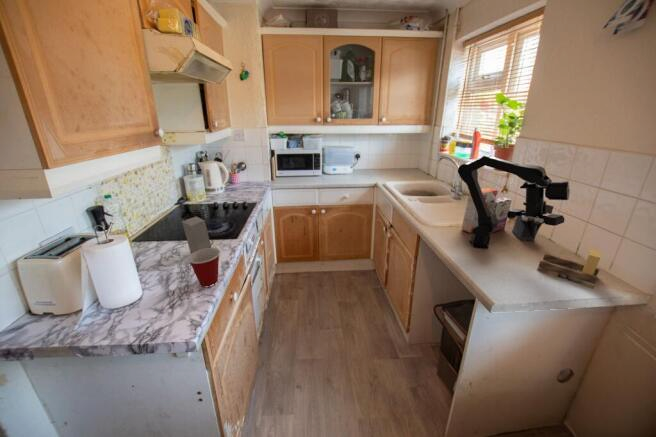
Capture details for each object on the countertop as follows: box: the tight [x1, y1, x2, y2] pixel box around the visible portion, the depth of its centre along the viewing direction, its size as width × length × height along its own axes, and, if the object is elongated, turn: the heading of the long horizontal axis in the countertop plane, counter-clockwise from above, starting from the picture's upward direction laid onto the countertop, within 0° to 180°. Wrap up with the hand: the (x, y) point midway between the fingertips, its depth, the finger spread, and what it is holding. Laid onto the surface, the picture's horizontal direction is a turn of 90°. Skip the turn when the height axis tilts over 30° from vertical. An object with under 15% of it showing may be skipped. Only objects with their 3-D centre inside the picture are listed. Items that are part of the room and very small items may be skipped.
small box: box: [511, 216, 536, 243], centre depth 140 cm, size 11×6×10 cm, turn 168°
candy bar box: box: [489, 196, 513, 234], centre depth 146 cm, size 11×5×16 cm, turn 115°
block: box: [582, 248, 603, 276], centre depth 106 cm, size 3×6×9 cm, turn 135°
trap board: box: [536, 252, 600, 289], centre depth 112 cm, size 17×11×4 cm, turn 45°
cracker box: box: [461, 187, 499, 234], centre depth 145 cm, size 14×6×21 cm, turn 117°
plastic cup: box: [186, 247, 221, 287], centre depth 103 cm, size 11×11×12 cm
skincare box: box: [181, 216, 212, 254], centre depth 122 cm, size 8×7×16 cm
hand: (533, 237), depth 117 cm, fingers closed
